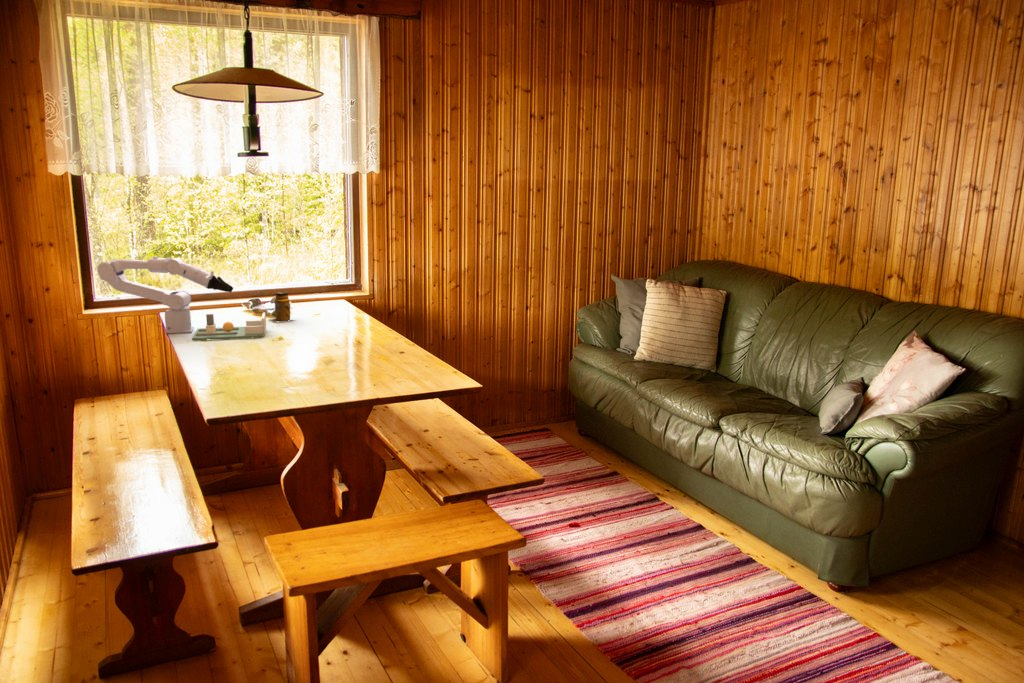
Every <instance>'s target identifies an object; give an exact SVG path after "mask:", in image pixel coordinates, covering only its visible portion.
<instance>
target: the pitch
mask: <svg viewBox="0 0 1024 683" xmlns="http://www.w3.org/2000/svg"><path fill="white" fill-rule="evenodd" d="M264 336H265V334H245V326H234V328H233V330H232V331H231V332H226V331H224V329H223V327H216V331H215V333H206V327H203V328H199V327H198V328H197V329H196V330H195V332H194V334H193V336H192V337H191V340H201V341H208V340H207V339H224V340H232V339H231V338H246V339H256V338H255V337H264ZM252 337H254V338H252ZM264 338H265V337H264Z"/></svg>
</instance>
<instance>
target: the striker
mask: <svg viewBox="0 0 1024 683" xmlns="http://www.w3.org/2000/svg"><path fill="white" fill-rule="evenodd" d="M205 316H206V324H205V328H206V333H215V331H216V328H217V327H216V322H215V319H214V313H207V314H205Z"/></svg>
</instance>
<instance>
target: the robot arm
mask: <svg viewBox="0 0 1024 683" xmlns="http://www.w3.org/2000/svg"><path fill="white" fill-rule="evenodd" d="M96 268H97V269H96V270H97V274H98V275H99V278H100V280H102V281H104V282H106V283H107V284H108V285H109V286H110V287H112V288H113V289H114V290H115V291H117V292H121V293H125V294H129V295H133V296H136V297H139V298H140V297H141V298H144V299H148V300H151V301H157V302H160V303H162V304H163V306H167V307H169V309H166V310H164V324H165V334H181V333H192V332H193V330H194V327H192V320H191V319H192V317H191V307H190V304H191V302H192V296H191V294H190V293H189V292H188V291H186V290H179V291H176V290H169V289H168V290H167V289H163V288H159V287H156V286H152V285H148V284H144V283H140V282H136V281H132V280H129V279H127V277H126V274H125V270H128V269H129V270H131V269H133V270H134V269H135V270H148V272H150V273H159V274H162V273H163V274H168V273H169V275H172V276H173V275H177V276H180V277H182V278H183V279H186V280H188V281H191V282H193V283H196V284H197V285H200V286H202V287H204V288H206V289H208V290H212V289H213V291H215V290H216V291H217V290H219V291H220V292H221V291H222V292H226V293H232V292H233V290H234V286H232V285H231V284H229V283H227V282H226V281H224V280H223V279H222V277H221V276H217V277H216V275H215V271H213V270H212V271H211V272H208V271H205V270H203V269H201V268H199V267H197V266H194V265H193V264H189V263H187V262H185V261H184V260H183V258H179V257H173V258H172V259H171V258H170V257H168V256H167V257H165V258H163V257H158V256H153V257H150V258H149V259H148V260H143V259H142V260H139V259H129V258H117V259H110V260H109V261H104V262H101V263H100V264H98V266H97V267H96Z"/></svg>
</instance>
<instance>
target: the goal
mask: <svg viewBox="0 0 1024 683" xmlns="http://www.w3.org/2000/svg"><path fill="white" fill-rule="evenodd" d="M266 318H267V317H266V312H262V315H261V319H257V320H255V319H253V320H252V319H251V320H246V321H245V325H244V327H245V334H264V335H265V334H266V330H267V322H266Z"/></svg>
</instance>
